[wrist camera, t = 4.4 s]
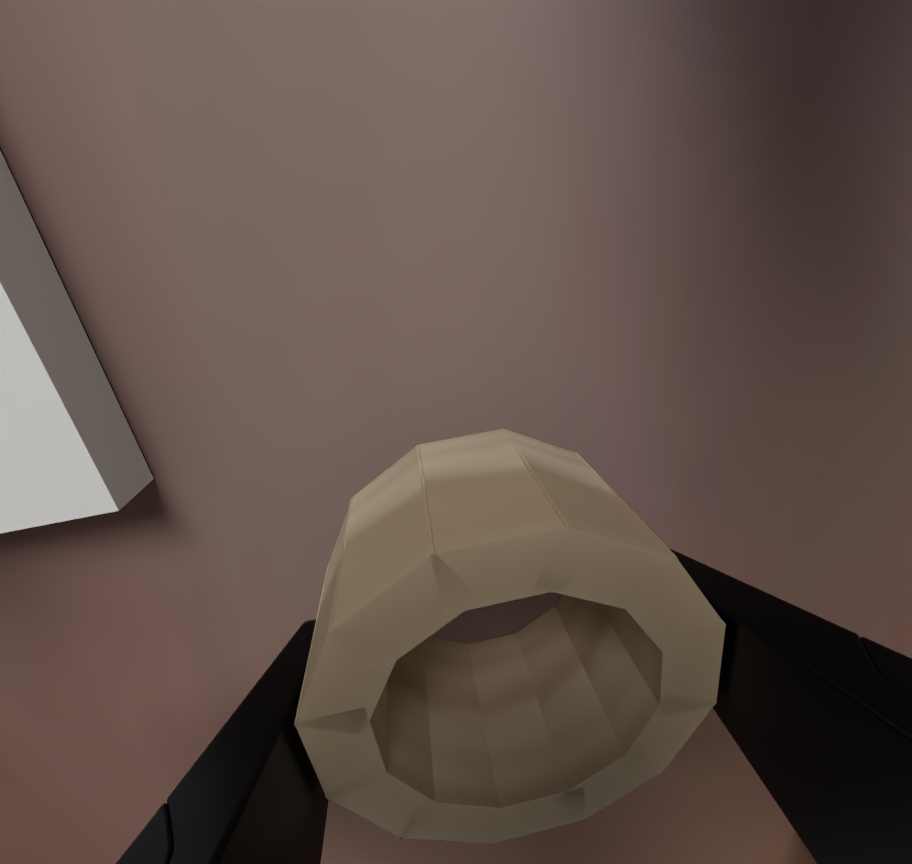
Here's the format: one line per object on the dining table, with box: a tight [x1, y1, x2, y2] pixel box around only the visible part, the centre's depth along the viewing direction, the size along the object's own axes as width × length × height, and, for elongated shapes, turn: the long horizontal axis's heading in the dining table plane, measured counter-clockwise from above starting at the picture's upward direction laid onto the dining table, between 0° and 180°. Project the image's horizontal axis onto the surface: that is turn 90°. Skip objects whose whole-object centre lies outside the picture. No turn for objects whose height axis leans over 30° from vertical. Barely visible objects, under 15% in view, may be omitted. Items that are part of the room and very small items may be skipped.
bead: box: [294, 428, 726, 844], centre depth 8 cm, size 6×6×4 cm
